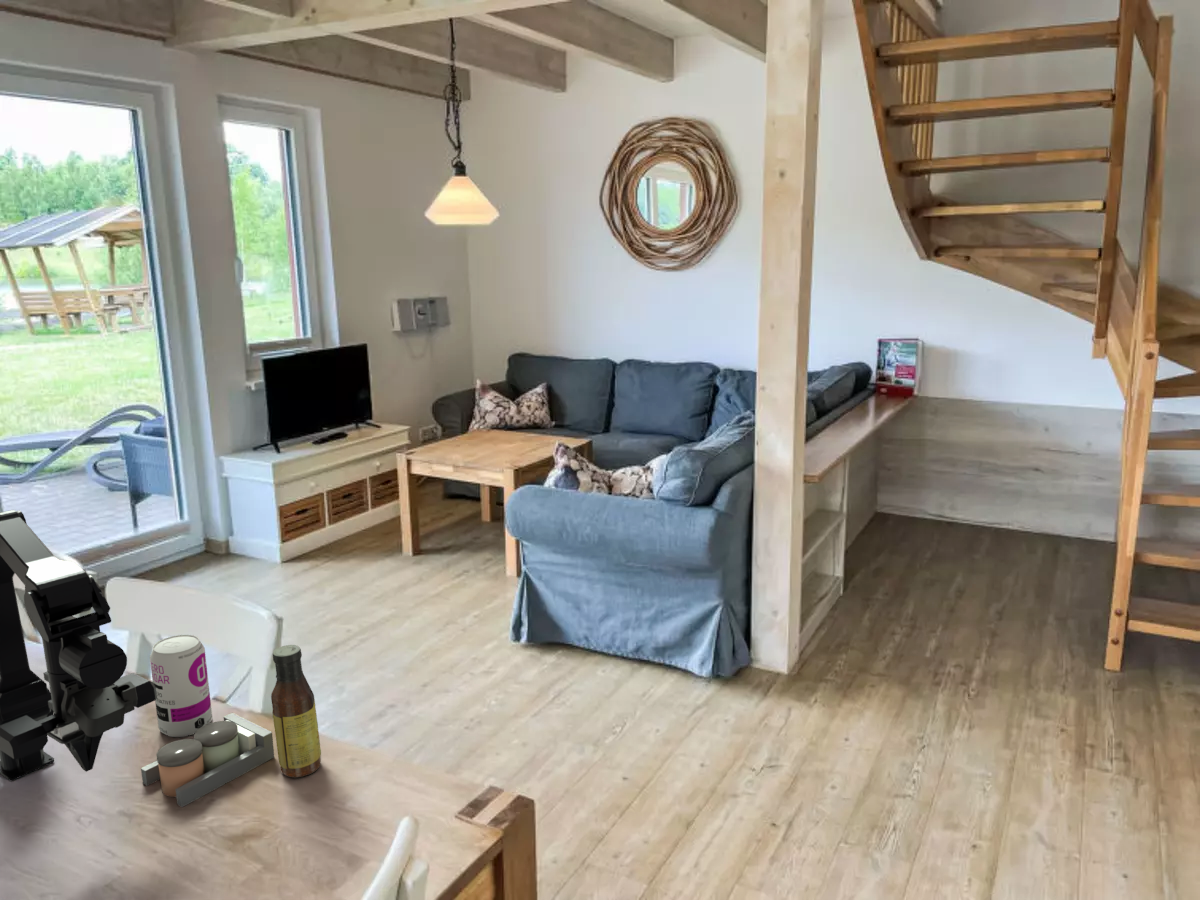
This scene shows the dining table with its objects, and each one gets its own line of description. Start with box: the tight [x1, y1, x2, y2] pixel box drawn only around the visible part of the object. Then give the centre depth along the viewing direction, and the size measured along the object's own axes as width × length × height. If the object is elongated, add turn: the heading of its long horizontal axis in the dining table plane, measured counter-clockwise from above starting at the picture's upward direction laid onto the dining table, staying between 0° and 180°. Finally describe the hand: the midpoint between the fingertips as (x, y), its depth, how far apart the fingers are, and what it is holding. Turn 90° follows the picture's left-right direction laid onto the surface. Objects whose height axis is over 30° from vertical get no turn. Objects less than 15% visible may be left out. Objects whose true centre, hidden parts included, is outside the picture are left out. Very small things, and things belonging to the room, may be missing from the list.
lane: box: [140, 712, 275, 808], centre depth 140 cm, size 10×16×4 cm
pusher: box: [226, 720, 256, 755], centre depth 144 cm, size 7×1×4 cm, turn 55°
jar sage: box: [193, 720, 240, 773], centre depth 141 cm, size 6×6×6 cm
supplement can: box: [149, 634, 213, 738], centre depth 151 cm, size 8×8×15 cm
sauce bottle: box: [270, 644, 322, 779], centre depth 138 cm, size 6×6×20 cm
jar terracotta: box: [156, 738, 205, 798], centre depth 136 cm, size 6×6×6 cm
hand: (87, 769), depth 124 cm, fingers closed
